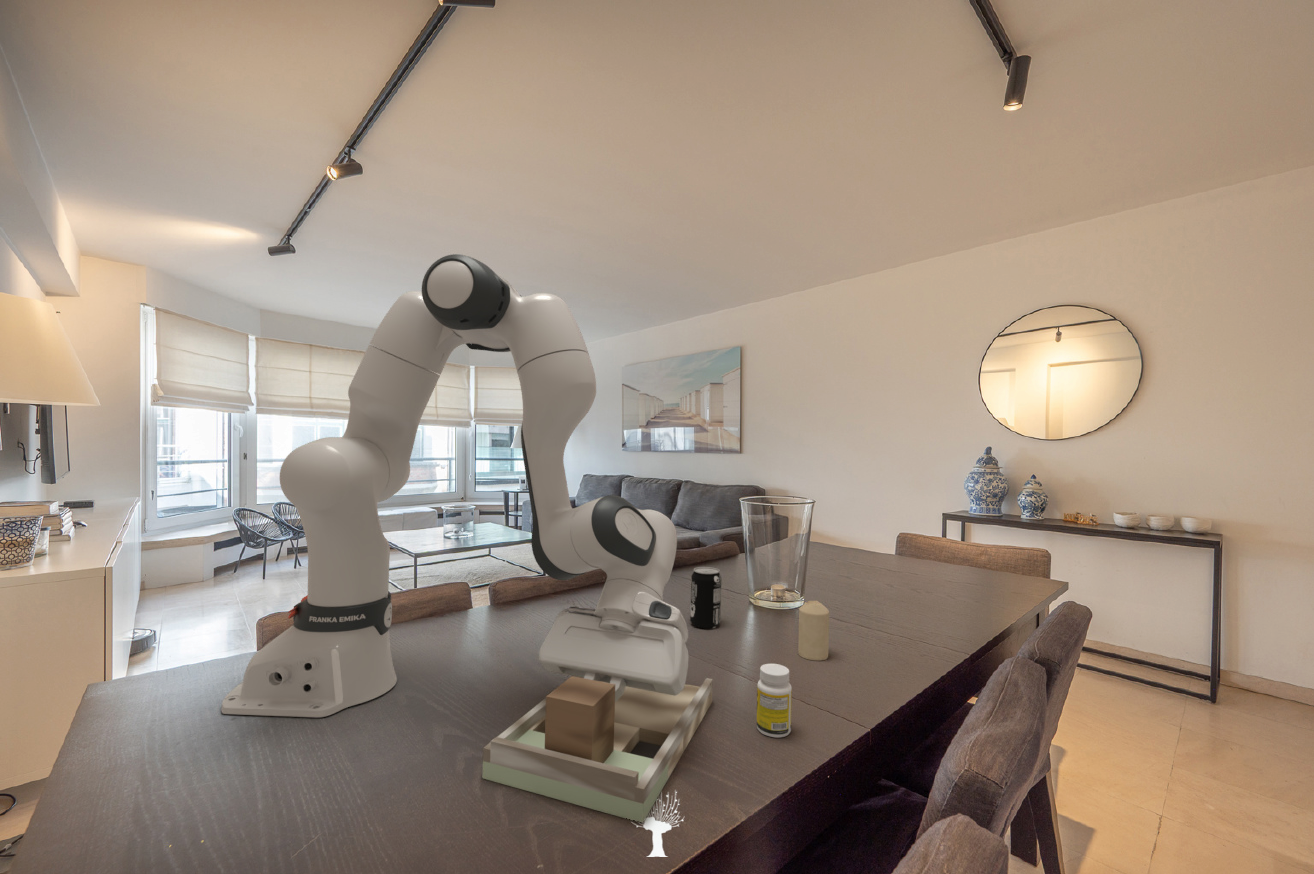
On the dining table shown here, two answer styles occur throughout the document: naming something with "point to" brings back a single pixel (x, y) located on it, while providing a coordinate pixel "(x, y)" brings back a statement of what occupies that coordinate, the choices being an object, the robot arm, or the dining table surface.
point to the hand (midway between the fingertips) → (593, 715)
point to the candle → (813, 631)
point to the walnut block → (581, 719)
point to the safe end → (580, 794)
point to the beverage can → (705, 597)
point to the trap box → (638, 729)
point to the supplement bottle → (774, 701)
